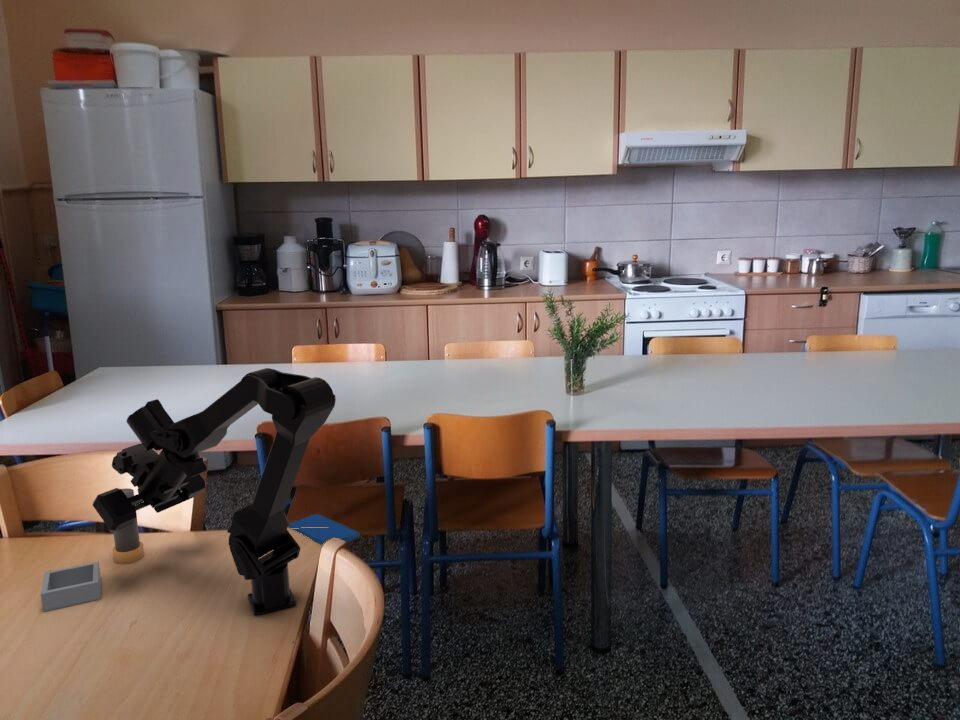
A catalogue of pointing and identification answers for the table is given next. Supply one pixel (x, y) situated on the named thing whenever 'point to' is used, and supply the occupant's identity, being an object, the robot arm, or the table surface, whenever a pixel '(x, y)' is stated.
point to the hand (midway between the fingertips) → (134, 520)
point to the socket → (71, 586)
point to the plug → (127, 541)
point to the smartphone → (323, 529)
